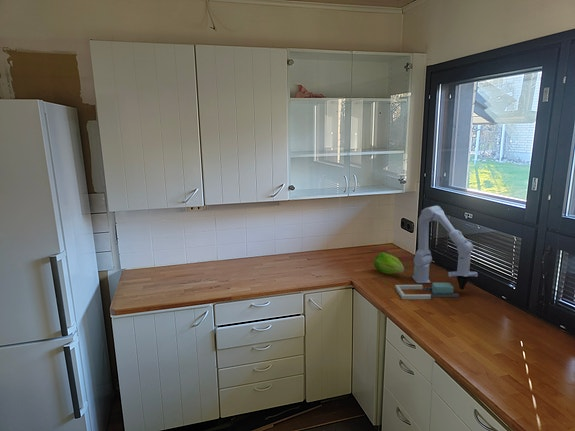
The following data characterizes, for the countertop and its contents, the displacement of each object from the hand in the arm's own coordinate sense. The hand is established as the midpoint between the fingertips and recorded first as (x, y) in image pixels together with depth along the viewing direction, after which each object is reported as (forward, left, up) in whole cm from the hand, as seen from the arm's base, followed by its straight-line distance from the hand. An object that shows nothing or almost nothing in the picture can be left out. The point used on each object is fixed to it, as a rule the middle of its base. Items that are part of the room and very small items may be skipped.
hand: (461, 289), depth 201 cm
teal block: (0, -10, -3) cm, 10 cm away
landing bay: (0, -25, -2) cm, 25 cm away
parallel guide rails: (0, -10, -2) cm, 11 cm away
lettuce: (-28, -31, -3) cm, 42 cm away
